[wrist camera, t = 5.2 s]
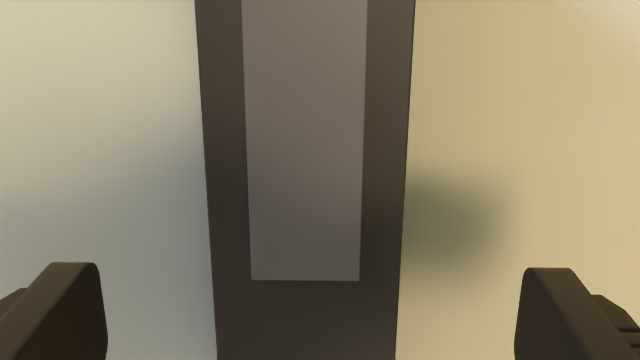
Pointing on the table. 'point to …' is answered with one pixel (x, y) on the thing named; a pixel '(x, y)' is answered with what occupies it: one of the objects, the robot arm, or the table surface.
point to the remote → (305, 173)
